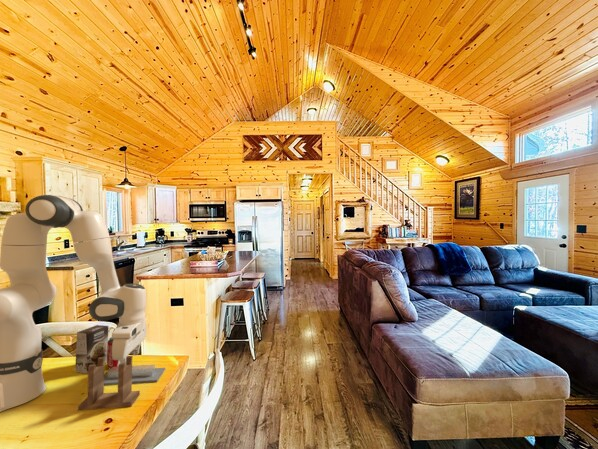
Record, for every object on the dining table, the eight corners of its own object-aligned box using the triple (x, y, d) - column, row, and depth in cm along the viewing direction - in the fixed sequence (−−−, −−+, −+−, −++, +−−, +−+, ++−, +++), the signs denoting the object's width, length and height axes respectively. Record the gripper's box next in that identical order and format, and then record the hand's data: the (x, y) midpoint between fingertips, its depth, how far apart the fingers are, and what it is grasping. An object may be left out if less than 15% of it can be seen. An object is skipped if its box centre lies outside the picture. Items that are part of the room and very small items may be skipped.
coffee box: (87, 374, 105) (88, 333, 105) (74, 371, 106) (75, 332, 107) (108, 362, 114) (109, 325, 114) (96, 360, 115) (97, 324, 116)
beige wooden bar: (107, 378, 101) (107, 371, 101) (111, 374, 104) (112, 366, 104) (151, 376, 103) (152, 368, 103) (154, 371, 106) (155, 364, 106)
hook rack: (77, 410, 84) (79, 366, 85) (89, 398, 90) (91, 357, 90) (131, 406, 87) (132, 364, 87) (139, 394, 93) (140, 355, 93)
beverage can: (103, 369, 108) (104, 340, 108) (111, 362, 114) (112, 335, 114) (118, 369, 109) (119, 340, 109) (126, 362, 115) (126, 334, 115)
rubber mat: (93, 386, 97) (93, 383, 97) (107, 372, 106) (107, 370, 106) (156, 382, 100) (156, 379, 100) (165, 369, 109) (165, 367, 109)
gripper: (135, 316, 113) (133, 348, 113) (109, 335, 93) (106, 374, 93) (151, 316, 114) (149, 348, 114) (128, 335, 94) (125, 373, 94)
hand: (130, 360), depth 103 cm, fingers open, 8 cm apart
